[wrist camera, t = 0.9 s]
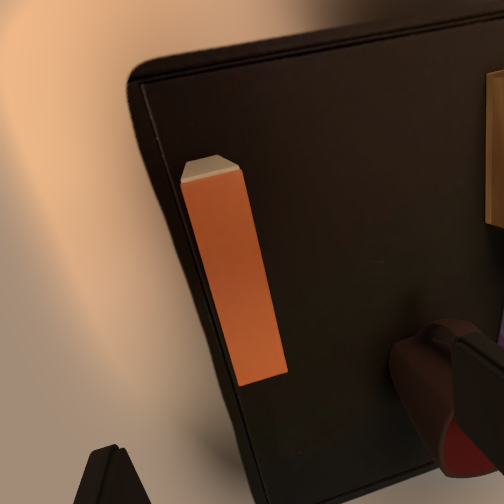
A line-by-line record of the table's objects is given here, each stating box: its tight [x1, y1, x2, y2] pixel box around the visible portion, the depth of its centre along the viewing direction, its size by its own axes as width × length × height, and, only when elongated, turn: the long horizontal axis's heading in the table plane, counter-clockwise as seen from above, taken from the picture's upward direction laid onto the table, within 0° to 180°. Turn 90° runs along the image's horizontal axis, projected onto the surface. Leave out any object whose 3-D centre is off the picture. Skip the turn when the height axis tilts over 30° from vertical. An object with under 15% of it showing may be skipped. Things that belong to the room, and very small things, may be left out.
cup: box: [389, 318, 498, 478], centre depth 36 cm, size 10×14×12 cm
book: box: [180, 155, 288, 386], centre depth 26 cm, size 3×12×16 cm, turn 13°
